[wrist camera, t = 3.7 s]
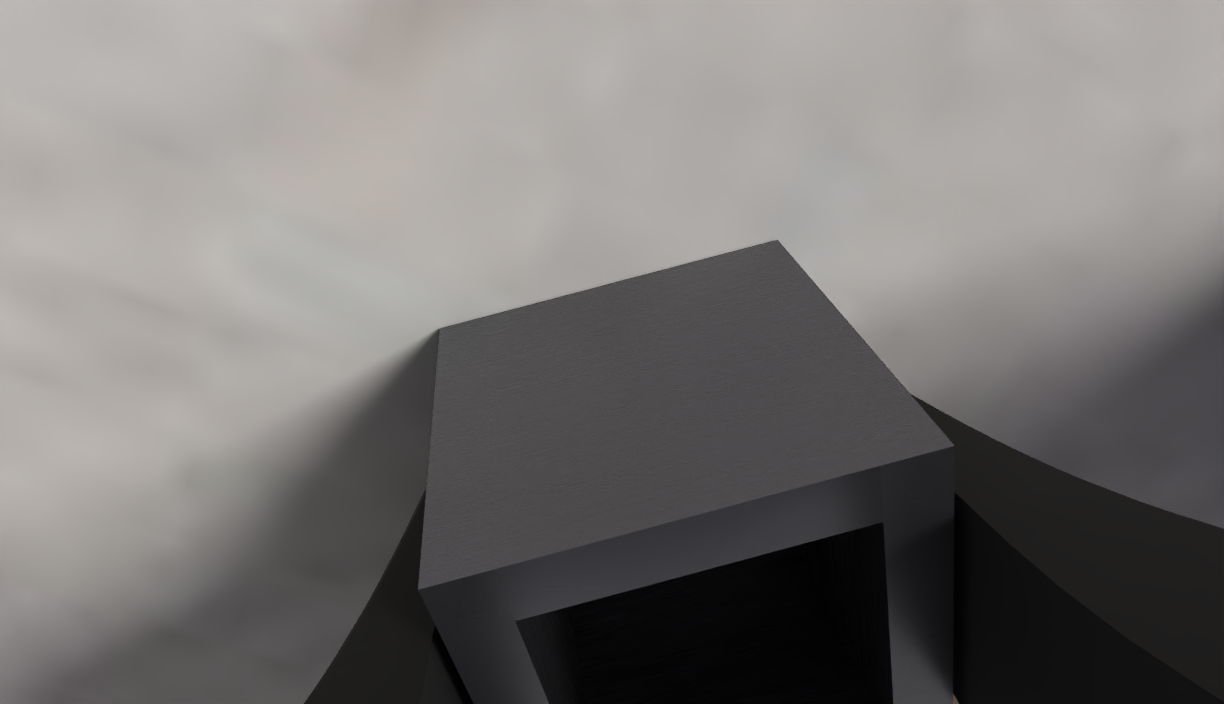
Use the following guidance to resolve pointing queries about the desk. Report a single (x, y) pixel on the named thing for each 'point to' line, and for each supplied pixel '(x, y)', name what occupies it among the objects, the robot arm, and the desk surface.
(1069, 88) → the desk surface
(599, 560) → the socket sleeve
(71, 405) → the desk surface
